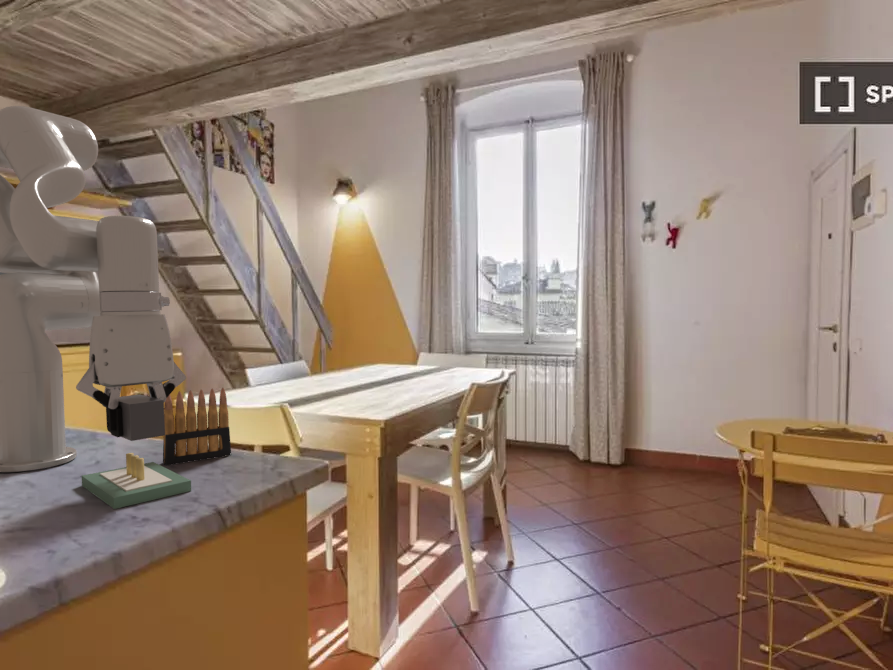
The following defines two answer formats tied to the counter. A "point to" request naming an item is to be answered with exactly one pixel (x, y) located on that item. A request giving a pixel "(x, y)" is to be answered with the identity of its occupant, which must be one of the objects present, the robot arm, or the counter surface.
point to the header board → (135, 483)
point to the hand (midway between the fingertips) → (136, 431)
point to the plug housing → (142, 417)
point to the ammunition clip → (196, 429)
